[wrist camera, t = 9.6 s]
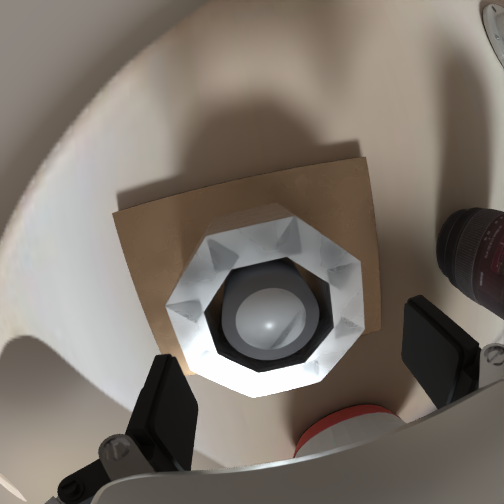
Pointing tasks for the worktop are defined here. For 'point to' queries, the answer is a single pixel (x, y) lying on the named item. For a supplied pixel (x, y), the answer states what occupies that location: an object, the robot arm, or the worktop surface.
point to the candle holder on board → (252, 252)
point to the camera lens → (475, 255)
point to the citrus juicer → (346, 428)
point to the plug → (268, 309)
